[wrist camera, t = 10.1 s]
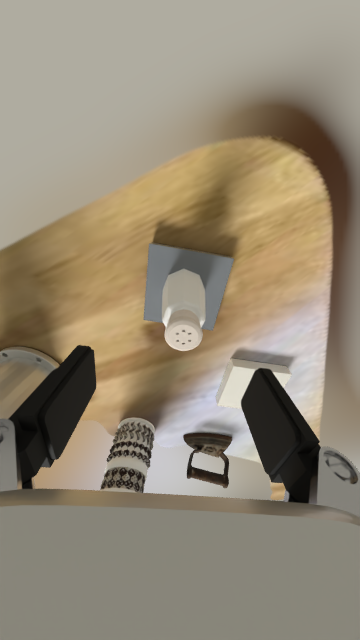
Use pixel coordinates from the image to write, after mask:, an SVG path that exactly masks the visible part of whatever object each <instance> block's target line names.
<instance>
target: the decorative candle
mask: <svg viewBox="0 0 360 640" xmlns="http://www.w3.org/2000/svg"><path fill="white" fill-rule="evenodd" d="M117 431H118V432H116V436H115V439H114V440H113V443H114V445H113V446H112V448H111V449H110V453H111V454H110V455H109V456H108V458H107V462H108V463H107V466H106V469H105V472H104V474H105V476H104V480H103V482H102V485H101V490H100V491H114V492H134V493H143V490H144V483H145V480H146V477H147V470H148V468H149V467H150V460H149V459H150V458H151V450H152V448H153V441H154V432H155V428H154V426H153V424H152V423H150V422H149V421H148V420H145V419H142V418H135V417H132V418H126V419H124V420H122V421H121V422H120V424H119V426H118V429H117Z"/></svg>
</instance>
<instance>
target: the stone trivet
mask: <svg viewBox="0 0 360 640" xmlns="http://www.w3.org/2000/svg"><path fill="white" fill-rule="evenodd" d="M258 368H267V369H270V370H271V371H272V372H273V374H274V375H275V377H276V378H277V379H278V381H279V382H280V384H281V385H282V387H283V388H284V386H285V385H286V383H287V382H288V380H289V379H290V377H291V375H292V374H291V373H290V371H289V370H288V368H287V367H286V366H282V365H275V364H268V363H261V362H254V361H247V360H240V359H233V358H230V361H229V363H228V366H227V369H226V371H225V374H224V376H223V379H222V382H221V384H220V387H219V389H218V392H217V394H216V401H217V406H223V407H231V408H239V409H242V407H241V399H242V397H243V395H244V393H245V391H246V389H247V387H248V385H249V382H250V380H251V378H252V376H253V374H254V372H255V370H258Z"/></svg>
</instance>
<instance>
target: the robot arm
mask: <svg viewBox="0 0 360 640" xmlns="http://www.w3.org/2000/svg"><path fill="white" fill-rule="evenodd" d="M95 389H96V373H95V359H94V350H92V349H91V347H89V346H81V345H78V346H77V347H76V348H75V349H74V350H73V351H72V352H71V354H70V355H69V356H68V357H67V358H66V359H65V360H64V361H63V363H62V364H61V365H59V364H58V363H57V362H56V361H55V360H54V359H52V358H51V357H49V356H48V355H46V354H44V353H42V352H40V351H37V350H35V349H31V348H27V347H9V348H6V349H3V350H2V351H0V640H360V473H359V471H358V470H357V468H356V467H355V466H354V465H353V463H352V462H351V461H350V460H349V459H348V458H347V457H346V456H344V455H343V454H342V453H340V452H339V451H337V450H335V449H333V448H330V447H322V448H321V447H320V446H319V444H318V443H319V442H320V441H319V440H318V438H317V437H316V435H315V434H314V432H313V431H312V429H311V428H310V426H309V425H308V424H307V422H306V421H305V419H304V418H303V416H302V415H301V413H300V412H299V410H298V409H297V407H296V406H295V404H294V403H293V401H292V400H291V399H290V397H289V396H288V394H287V393H286V391H285V390H284V388H283V387H282V385H281V384H280V382H279V381H278V379H277V378H276V377H275V375H274V374H273V372H272V371H271V370H270V369H267V368H258V370H255V372H254V374H253V376H252V378H251V380H250V382H249V385H248V387H247V389H246V391H245V393H244V395H243V397H242V399H241V407H242V410H243V412H244V415H245V418H246V421H247V423H248V426H249V429H250V432H251V434H252V437H253V440H254V443H255V445H256V448H257V451H258V453H259V456H260V459H261V462H262V464H263V467H264V470H265V472H266V473H267V474H269V477H270V479H271V482H275V483H283V484H284V486H285V488H286V491H285V496H284V501H270V500H253V499H239V498H223V497H204V496H187V495H170V494H153V493H134V492H114V491H95V490H68V489H67V490H66V489H35V482H34V476H35V475H36V474H37V473H38V471H39V469H40V467H51V465H52V464H53V462H54V460H55V459H58V458H59V457H60V456H61V454H62V452H63V450H64V449H65V447H66V445H67V443H68V441H69V439H70V437H71V435H72V433H73V431H74V429H75V428H76V426H77V424H78V422H79V420H80V418H81V416H82V414H83V412H84V411H85V409H86V407H87V405H88V403H89V401H90V399H91V397H92V395H93V393H94V391H95Z"/></svg>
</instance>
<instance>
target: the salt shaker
mask: <svg viewBox="0 0 360 640" xmlns="http://www.w3.org/2000/svg"><path fill="white" fill-rule="evenodd" d="M205 317H206V314H205V289H204V286H203V283H202V281H201V278H200V275H198V274H196V273H193V272H191V271H188V270H186V269H181V270H179V271H177V272H175V273H172V274H170V275H168V277H167V280H166V282H165V285H164V288H163V294H162V321H163V323H164V325H165V327H166V329H165V335H164V336H165V340H166V342H167V343H168V344H169V345H170V346H171V347H172V348H174V349H176V350H179V351H188V350H191V349H194V348H195V347H197V346H198V345H199V344H200V342H201V340H202V337H203V333H202V329H201V327H202V325H203V324H204V322H205Z"/></svg>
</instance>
